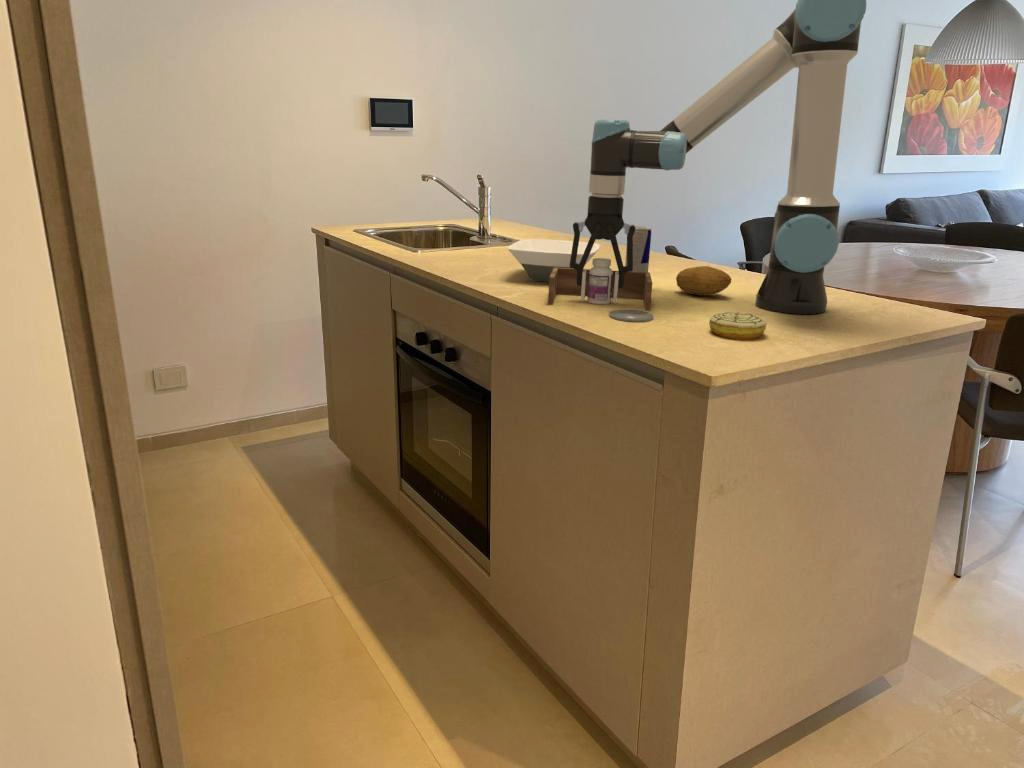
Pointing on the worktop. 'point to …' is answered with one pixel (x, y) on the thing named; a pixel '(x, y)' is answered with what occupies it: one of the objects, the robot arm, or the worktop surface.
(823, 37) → the robot arm
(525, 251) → the bowl
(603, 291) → the pill bottle
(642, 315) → the coaster
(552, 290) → the wooden u-shaped frame
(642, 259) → the beverage can
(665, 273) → the worktop surface
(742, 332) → the decorated donut
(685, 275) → the potato
